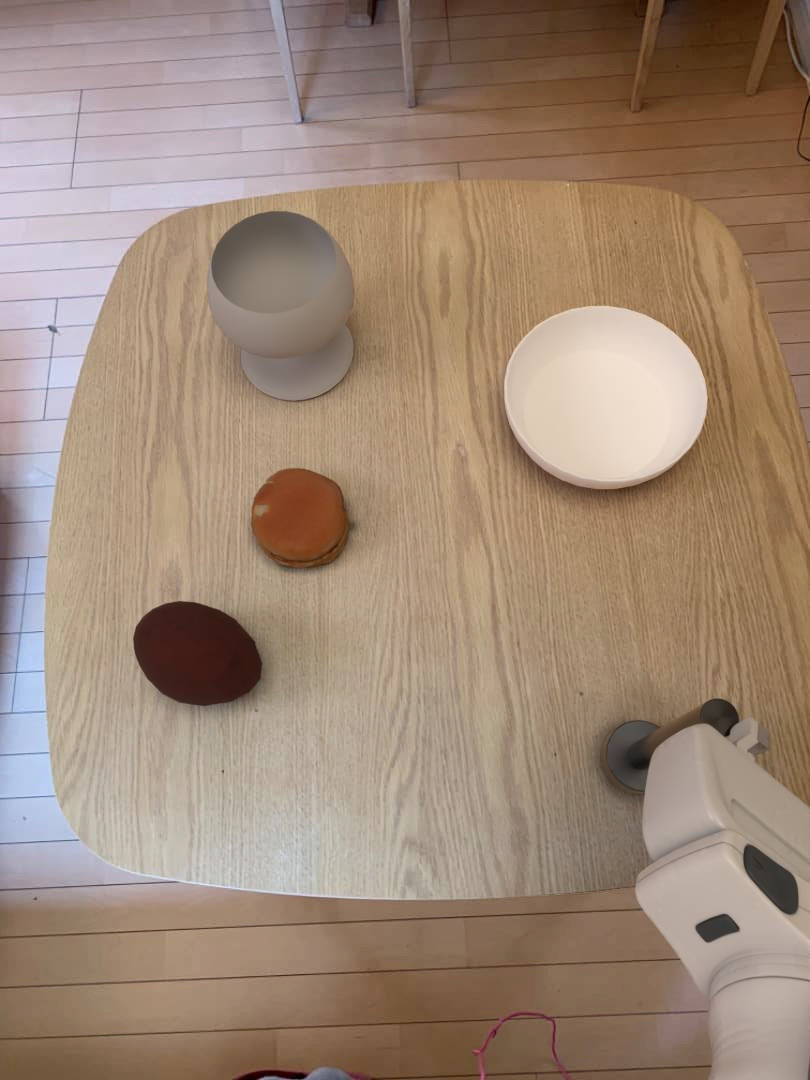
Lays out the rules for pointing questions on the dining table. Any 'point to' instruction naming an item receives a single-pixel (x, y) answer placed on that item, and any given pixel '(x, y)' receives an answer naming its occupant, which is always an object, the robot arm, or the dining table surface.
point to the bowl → (604, 397)
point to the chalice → (284, 303)
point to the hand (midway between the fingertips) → (807, 775)
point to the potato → (196, 654)
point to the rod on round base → (655, 742)
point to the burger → (300, 518)
